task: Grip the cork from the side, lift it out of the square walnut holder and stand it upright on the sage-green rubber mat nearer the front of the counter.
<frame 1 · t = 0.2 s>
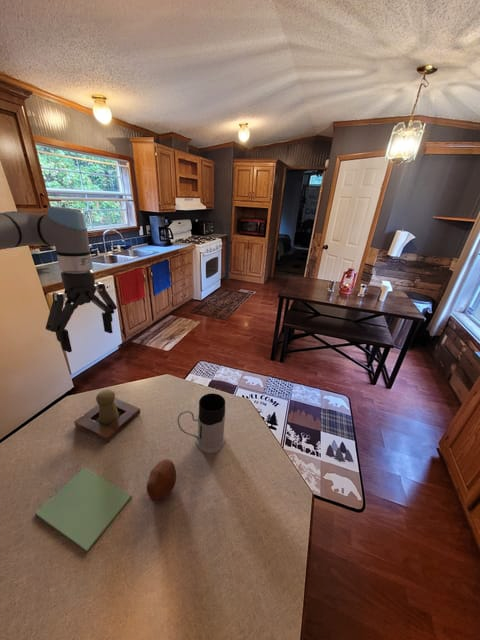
hand: (89, 340, 76), 26 cm above the kitchen counter, tool pointing down, fingers open, 13 cm apart
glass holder: (201, 442, 77), on the kitchen counter
cork: (109, 420, 82), resting in holder
holder: (109, 419, 82), on the kitchen counter
mat: (85, 505, 59), on the kitchen counter
potato: (162, 487, 64), on the kitchen counter
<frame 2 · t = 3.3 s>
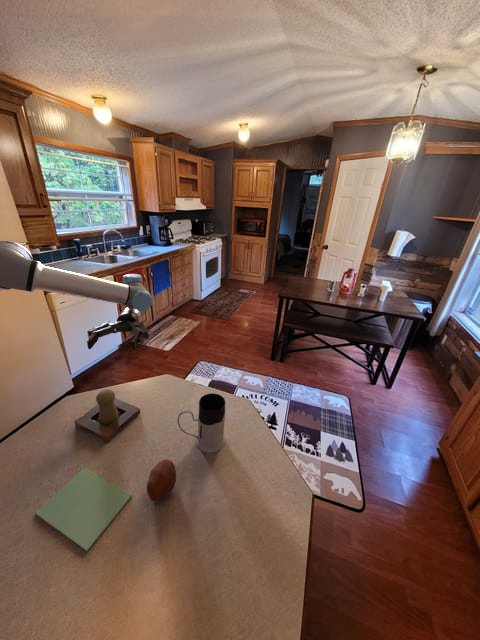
hand: (111, 345, 82), 22 cm above the kitchen counter, tool horizontal, fingers open, 13 cm apart
nothing on the kitchen counter moved.
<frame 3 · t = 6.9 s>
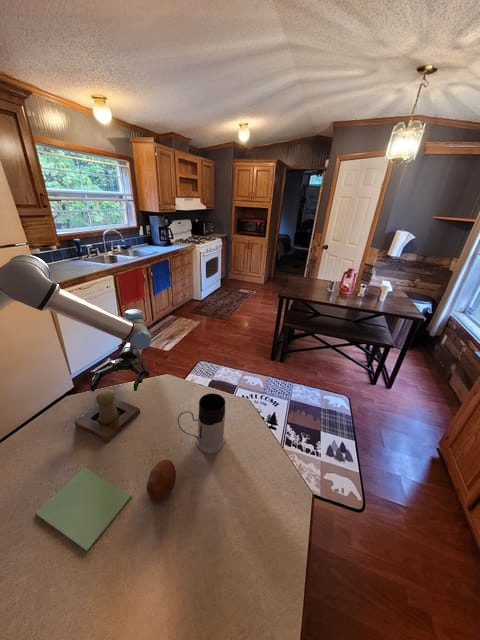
hand: (113, 388, 85), 7 cm above the kitchen counter, tool horizontal, fingers open, 13 cm apart
nothing on the kitchen counter moved.
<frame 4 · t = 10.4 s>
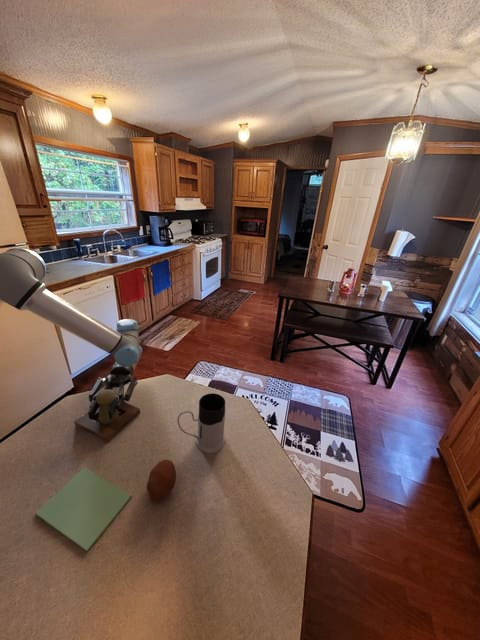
hand: (100, 415, 74), 7 cm above the kitchen counter, tool horizontal, fingers closed on cork, 5 cm apart
cork: (109, 420, 82), resting in holder, touching gripper
everything else where it was.
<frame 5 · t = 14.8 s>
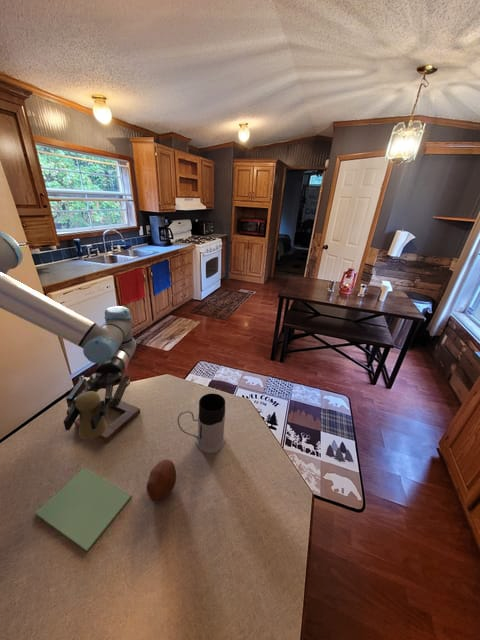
hand: (79, 425, 57), 18 cm above the kitchen counter, tool horizontal, fingers closed on cork, 5 cm apart
cork: (93, 430, 65), point 11 cm above the kitchen counter, touching gripper
everything else where it was.
when the fingers open (8 cm above the kitchen counter, at t = 19.5 s): cork stays where it is, resting on mat.
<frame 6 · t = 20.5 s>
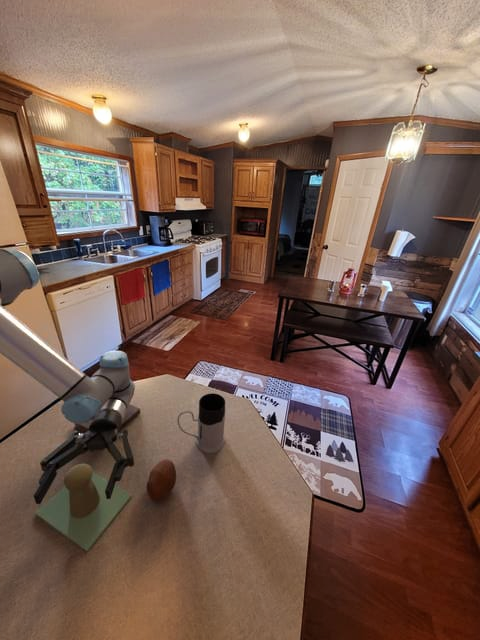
hand: (72, 497, 53), 8 cm above the kitchen counter, tool horizontal, fingers open, 13 cm apart
cork: (85, 504, 59), resting on mat
everything else where it was.
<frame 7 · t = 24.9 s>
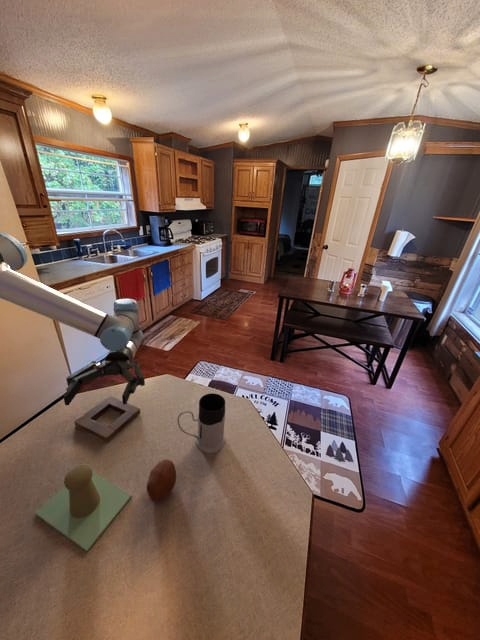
hand: (95, 400, 63), 19 cm above the kitchen counter, tool horizontal, fingers open, 13 cm apart
nothing on the kitchen counter moved.
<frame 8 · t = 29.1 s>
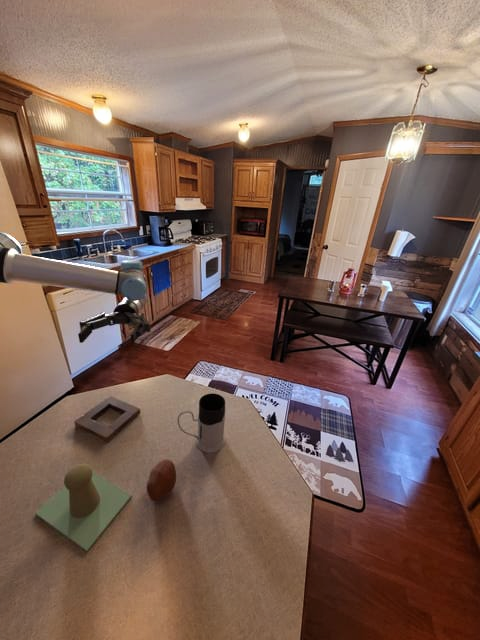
hand: (106, 338, 70), 30 cm above the kitchen counter, tool horizontal, fingers open, 13 cm apart
nothing on the kitchen counter moved.
at the end: cork inside the target area on the mat (0.0 cm from its centre), point 0.4 cm above the mat's base; cork tilted 0°; the gripper is holding nothing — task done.
